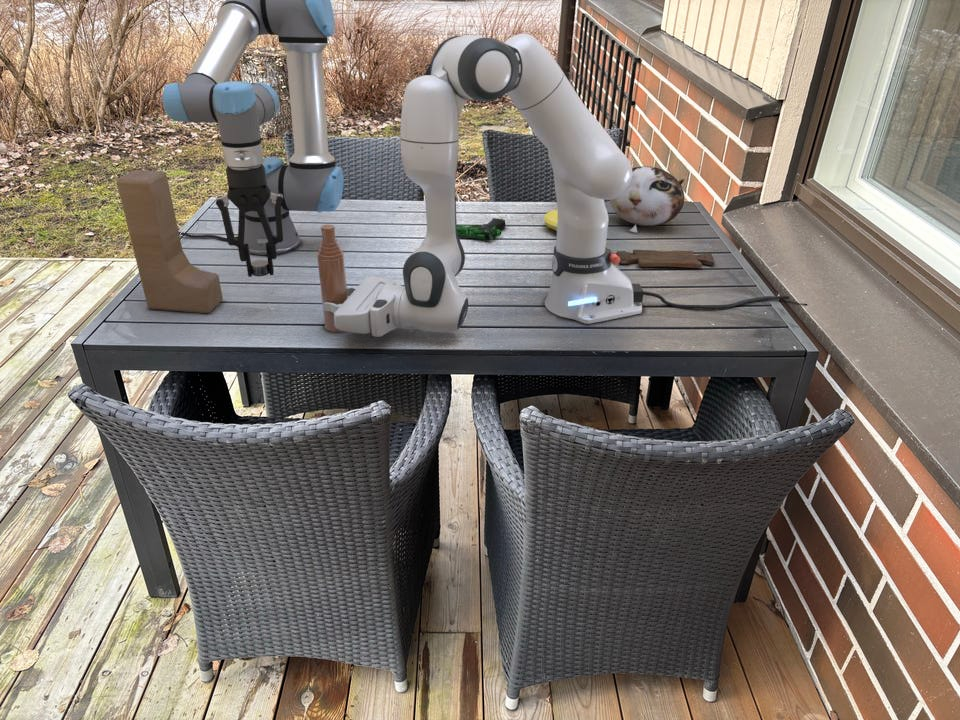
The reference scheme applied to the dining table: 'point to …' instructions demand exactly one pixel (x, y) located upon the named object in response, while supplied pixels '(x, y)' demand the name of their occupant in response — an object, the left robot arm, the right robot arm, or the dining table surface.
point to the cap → (260, 268)
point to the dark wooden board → (665, 258)
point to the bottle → (331, 273)
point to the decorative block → (163, 247)
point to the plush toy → (650, 198)
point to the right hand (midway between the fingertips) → (330, 298)
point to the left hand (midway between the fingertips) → (261, 273)
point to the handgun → (482, 230)
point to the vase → (551, 219)
